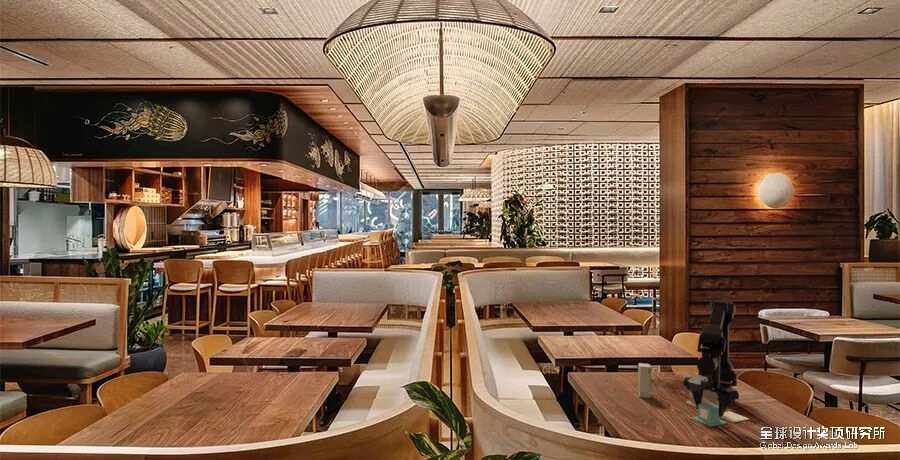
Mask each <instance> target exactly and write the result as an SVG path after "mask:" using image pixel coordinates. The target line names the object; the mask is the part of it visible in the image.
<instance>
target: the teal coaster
mask: <svg viewBox="0 0 900 460" xmlns="http://www.w3.org/2000/svg"><path fill="white" fill-rule="evenodd" d="M691 419H692V420H693V421H696V422H698V421H699V422H698V423H701V424H703V425H706V426H708V427H715V426H721V425H727V424H728V422H726V421H724V420H722V419H720V422H714V423H708V422H705V421H703V420H701V419H698V415H697V416H692V417H691Z"/></svg>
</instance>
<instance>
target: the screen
mask: <svg viewBox="0 0 900 460" xmlns="http://www.w3.org/2000/svg"><path fill="white" fill-rule="evenodd" d="M716 398H719V397H718V396H717V393H715V392H712V391H709V390H703V396H702V402H701V404H703V403H711V404H714V405H716V406H719V402H718V400H717V399H716ZM687 404H688V405H687ZM685 405H687V406H690V407H692V406H693V407H692V408H694V409H697V407H696V404H695V400H694V397H693V395H692V393H691V391H690V390H689V400H688V401H685Z"/></svg>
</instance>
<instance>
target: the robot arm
mask: <svg viewBox="0 0 900 460" xmlns="http://www.w3.org/2000/svg"><path fill="white" fill-rule="evenodd" d="M736 309H737V307H736V305H735V303H733V301H723V300H722V301H721V300H714V301H710V302H709V312H710V315H709V316H710V317H709V321H708V324H707V326H705V327H703V328H702V330H701V331H702V332H701V333H700V334H699V337H698V344H697V350H696V352H697V353H701V356H700V357H699V358H698V359H697V361H696V368H697V369H698V373H697V375H694V376H686V377H685V378H684V379H682V380H683V381H682V382H683V385H682V386H684V387H685V388H686V389H687V390H688V391H689V392H690V391H691V393H692V395H693V397H694V400H695V404H696V407H697V408H698V404H701V402H702V396H703V390H709V391H712V392H715V393H717V396H718V397H719V398H716V399H717V400H718V402H719V417H722V416H723V414H724V413H725V412H727V410H728V408H729V406H730V405H731V403H732V402H735V401H736V400H739V398H740V393H739V391H738V390H736V389H733V387H737V386H738V378H737V377H738V376H737V374H736V371H735V370H734V364H733V362H732V361H731V359H730V324H731V322H732V321H733V319H734V317H735V315H736V312H737V311H736ZM697 408H696V409H697Z"/></svg>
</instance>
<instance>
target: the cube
mask: <svg viewBox="0 0 900 460" xmlns="http://www.w3.org/2000/svg"><path fill="white" fill-rule="evenodd" d="M697 416H698V419H701V420H703V421H705V422H708V423H714V422H720V420H721V418H720V417H719V406H716V405H714V404H711V403H703V404H698V409H697Z"/></svg>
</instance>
